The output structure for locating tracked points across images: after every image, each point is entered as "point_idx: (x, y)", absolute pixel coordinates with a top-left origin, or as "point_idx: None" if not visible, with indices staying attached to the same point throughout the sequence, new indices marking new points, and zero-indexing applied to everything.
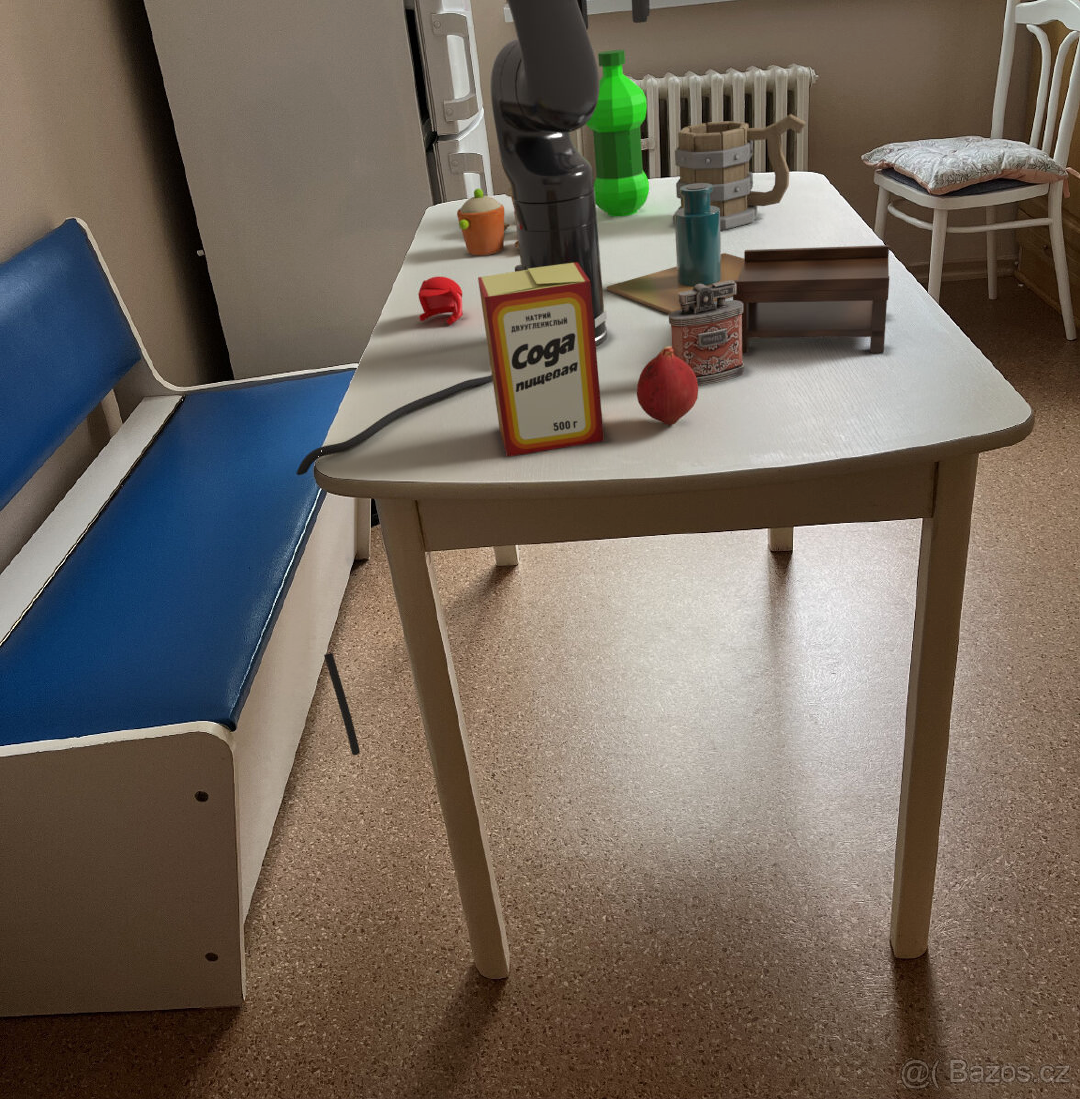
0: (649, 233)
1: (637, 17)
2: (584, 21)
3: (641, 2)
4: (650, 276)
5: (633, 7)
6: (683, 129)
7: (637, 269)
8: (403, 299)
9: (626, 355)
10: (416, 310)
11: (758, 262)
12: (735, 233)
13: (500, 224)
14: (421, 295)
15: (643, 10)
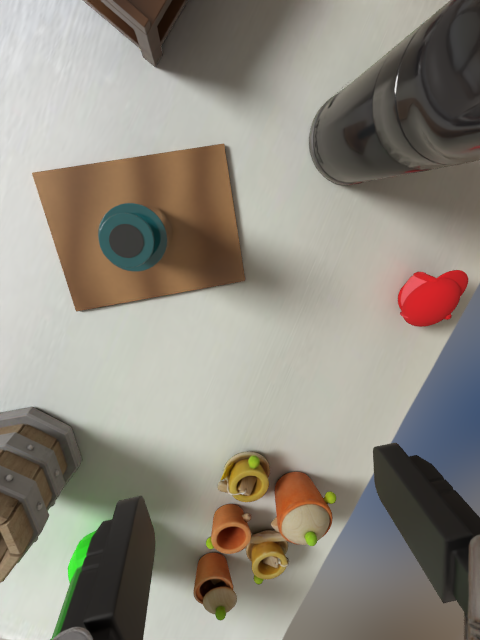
0: (118, 448)
1: (145, 530)
2: (401, 458)
3: (127, 556)
4: (189, 282)
5: (147, 581)
6: (6, 569)
7: (185, 329)
8: (416, 383)
9: (321, 47)
10: (421, 342)
11: (135, 4)
12: (26, 388)
13: (286, 495)
14: (467, 277)
15: (126, 524)
